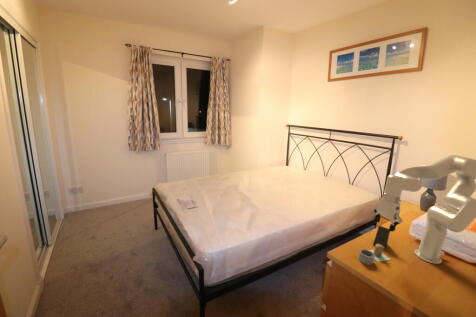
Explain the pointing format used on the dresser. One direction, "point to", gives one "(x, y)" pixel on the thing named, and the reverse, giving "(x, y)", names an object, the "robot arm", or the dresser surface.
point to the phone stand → (382, 236)
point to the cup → (366, 256)
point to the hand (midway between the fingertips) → (383, 226)
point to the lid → (379, 253)
